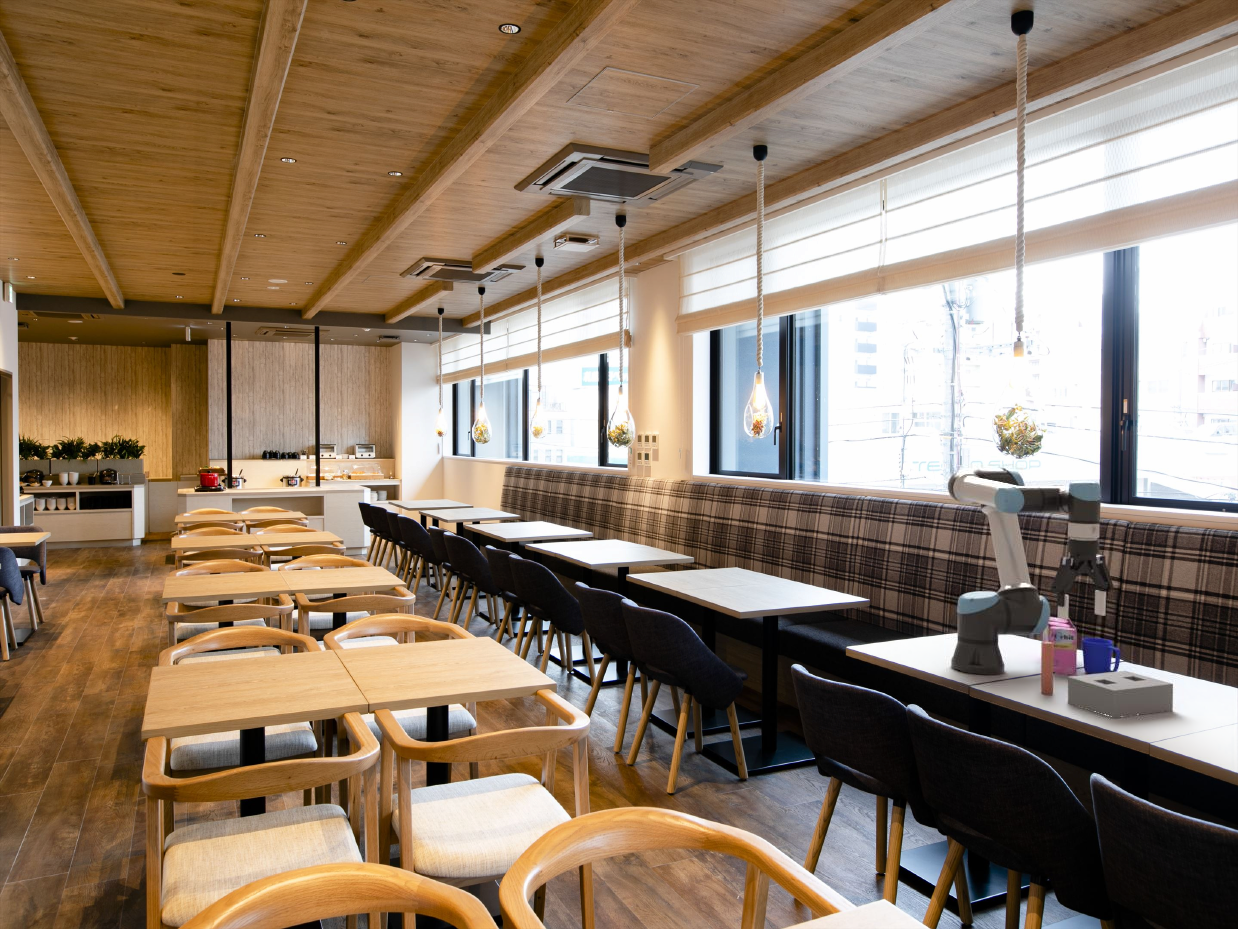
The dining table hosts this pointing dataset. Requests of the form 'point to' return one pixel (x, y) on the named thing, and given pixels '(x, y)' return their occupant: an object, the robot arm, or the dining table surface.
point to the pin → (1047, 668)
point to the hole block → (1120, 693)
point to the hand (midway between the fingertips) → (1081, 616)
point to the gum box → (1062, 644)
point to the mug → (1099, 655)
